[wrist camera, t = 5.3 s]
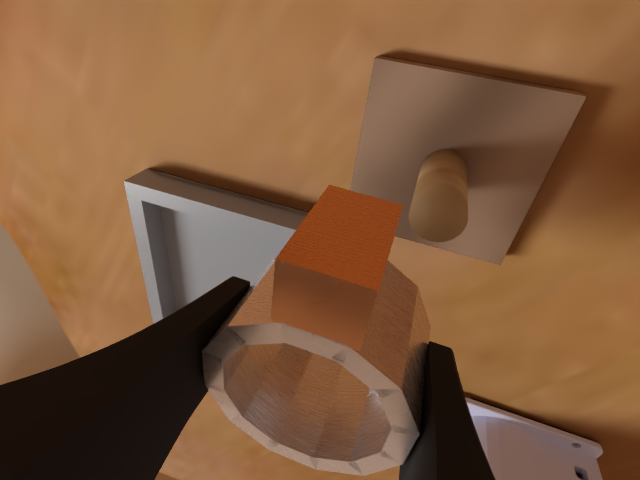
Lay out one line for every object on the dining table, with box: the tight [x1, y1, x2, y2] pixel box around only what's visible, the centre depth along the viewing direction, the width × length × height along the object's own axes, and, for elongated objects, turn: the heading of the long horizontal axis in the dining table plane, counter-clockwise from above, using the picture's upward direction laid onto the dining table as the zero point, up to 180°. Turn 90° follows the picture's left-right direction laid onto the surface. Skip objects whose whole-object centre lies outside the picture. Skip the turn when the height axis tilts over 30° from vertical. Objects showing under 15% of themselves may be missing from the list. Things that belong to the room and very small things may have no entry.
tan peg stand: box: [350, 56, 587, 265], centre depth 15 cm, size 8×8×5 cm
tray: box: [124, 168, 308, 324], centre depth 25 cm, size 12×13×2 cm
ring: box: [202, 185, 431, 476], centre depth 10 cm, size 6×7×4 cm
